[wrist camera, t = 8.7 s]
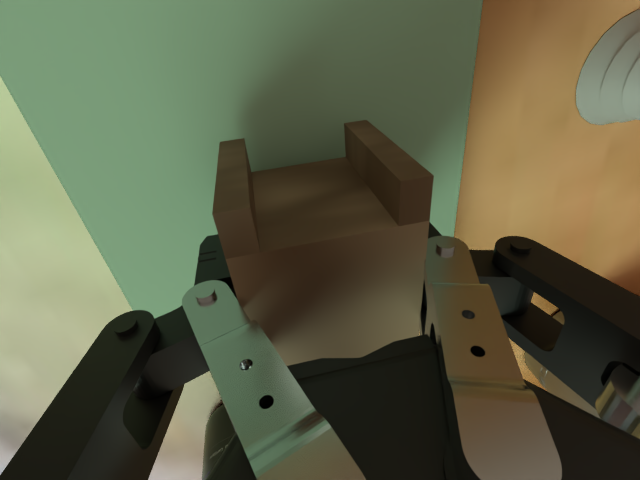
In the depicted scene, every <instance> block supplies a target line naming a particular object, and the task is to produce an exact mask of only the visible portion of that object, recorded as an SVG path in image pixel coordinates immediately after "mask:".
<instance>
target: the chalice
mask: <svg viewBox="0 0 640 480" xmlns="http://www.w3.org/2000/svg"><path fill="white" fill-rule="evenodd" d="M576 105H577V108H578V110H579V112H580V115H581V117H583V118H584V119H585V120H586V121H588V122H589V123H592V124H598V125H604V124H609V123H614V122H627V121H631V120H635V119H637V120H640V9H638V10H637V11H635V12H633V13H631V14H629V15H627V16H626V17H624V18H622V19H620V20H619V21H618V22H617V23H616V24H615V25H614V26H613V27H611V28H610V29H609V30H608V31H607V32H606V33H605V34H604V35H603V36H602V38H601V39H600V40H599V41H598V43H597V44H596V45H595V47H594V48H593V49H592V51H591V52H590V54H589V56H588V58H587V60H586V62H585V64H584V66H583V68H582V70H581V73H580V76H579V80H578V84H577V88H576Z"/></svg>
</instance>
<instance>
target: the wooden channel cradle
mask: <svg viewBox="0 0 640 480" xmlns="http://www.w3.org/2000/svg"><path fill="white" fill-rule="evenodd" d="M344 133H345V153H346V157H341V158H335V159H329V160H323V161H317V162H310V163H304V164H298V165H292V166H286V167H280V168H273V169H267V170H261V171H255V172H251V168H250V163H249V159H248V154H247V149H246V144H245V139H244V138H242V139H235V140H228V141H222V142H220V144H219V154H218V163H217V173H216V182H215V192H214V202H213V211H212V215H213V218H214V222H215V225H216V228H217V232H218V235H219V239H220V242H221V245H222V249H223V252H224V255H225V259H226V262H227V266H228V269H229V272H230V276H231V279H232V282H233V286H234V289H235V293H236V296H237V299H238V302H239V303H240V305H241V306H242V308H243V310H244V311H245V313H246V314H247V316H248V317H249V319H250V321H252V320H256V321H257V322H258V324H259V325H260V327H261V328H262V330H263V331H264V333H265V334H266V336H267V337H268V339H269V340H270V342H271V343H272V345H273V346H274V348H275V349H276V351H277V352H278V354H279V355H280V357H281V358H282V360H283V362H284V363H285V365H286V366H289V365H294V364H298V363H302V362H307V361H311V360H315V359H320V358H360V357H363V356H366V355H368V354H370V353H372V352H374V351H376V350H378V349H380V348H382V347H384V346H386V345H388V344H390V343H392V342H394V341H398V340H403V339H407V338H411V337H416V336H418V335H419V315H420V312H421V304H422V294H423V283H424V274H423V272H424V261H425V260H426V252H427V242H428V232H429V221H430V211H431V200H432V190H433V180H434V175H433V174H431V173H430V172H429V171H428V170H427V169H425V168H424V167H423V166H422V165H421V164H419V163H418V162H417V161H416V160H415V159H413V158H412V157H411V156H410V155H408V154H407V153H406V152H405V151H404V150H402V149H401V148H400V147H399V146H398V145H396V144H395V143H394V142H393V141H392V140H390V139H389V138H388V137H387V136H386V135H384V134H383V133H382V132H381V131H379V130H378V129H377V128H376V127H375V126H373V125H372V124H371V123H370V122H369V121H367V120H362V121H355V122H348V123H344Z"/></svg>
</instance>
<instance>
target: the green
mask: <svg viewBox="0 0 640 480" xmlns="http://www.w3.org/2000/svg"><path fill="white" fill-rule="evenodd" d="M482 4H483V0H0V76H1V78H2V80H3V81H4V83H5V85H6V87H7V88H8V90H9V92H10V94H11V95H12V97H13V99H14V101H15V103H16V104H17V106H18V108H19V110H20V111H21V113H22V115H23V117H24V118H25V120H26V122H27V124H28V126H29V127H30V129H31V131H32V133H33V134H34V136H35V138H36V140H37V141H38V143H39V145H40V147H41V149H42V150H43V152H44V154H45V156H46V157H47V159H48V161H49V163H50V164H51V166H52V168H53V170H54V172H55V173H56V175H57V177H58V179H59V180H60V182H61V184H62V186H63V187H64V189H65V191H66V193H67V195H68V196H69V198H70V200H71V202H72V203H73V205H74V207H75V209H76V210H77V212H78V214H79V216H80V218H81V219H82V221H83V223H84V225H85V226H86V228H87V230H88V232H89V233H90V235H91V237H92V239H93V241H94V242H95V244H96V246H97V248H98V249H99V251H100V253H101V255H102V256H103V258H104V260H105V262H106V264H107V265H108V267H109V269H110V271H111V272H112V274H113V276H114V278H115V279H116V281H117V283H118V285H119V287H120V288H121V290H122V292H123V294H124V295H125V297H126V299H127V301H128V302H129V304H130V306H131V308H132V310H133V311H134V310H145V311H148V312H150V313H151V314H152V315H153V317H154V319H155V318H157V317H159V316H162V315H164V314H166V313H169V312H171V311H173V310H175V309H177V308H179V307H180V306H181V305H182V298H183V296H184V295H185V293H186V292H187V291H188V290H189V289H190V288H192V287H193V286H194V283H195V276H196V269H197V263H198V256H199V248H200V244H201V243H202V242H203V240H204V239H205V238H206V237H207V236H210V235H216V234H218V232H217V228H216V225H215V222H214V218H213V215H212V211H213V202H214V192H215V182H216V173H217V163H218V154H219V144H220V142H222V141H228V140H235V139H242V138H244V139H245V144H246V149H247V154H248V159H249V163H250V168H251V172H255V171H261V170H267V169H273V168H280V167H286V166H292V165H298V164H304V163H310V162H317V161H323V160H329V159H335V158H341V157H346V153H345V133H344V123H348V122H355V121H362V120H367V121H369V122H370V123H371V124H372V125H373V126H375V127H376V128H377V129H378V130H379V131H381V132H382V133H383V134H384V135H386V136H387V137H388V138H389V139H390V140H392V141H393V142H394V143H395V144H396V145H398V146H399V147H400V148H401V149H402V150H404V151H405V152H406V153H407V154H408V155H410V156H411V157H412V158H413V159H415V160H416V161H417V162H418V163H419V164H421V165H422V166H423V167H424V168H425V169H427V170H428V171H429V172H430V173H431V174H433V175H434V180H433V190H432V200H431V211H430V221H429V222H430V223H431V224H432V225H433V226H434V227H435V228H436V229H437V230H438V231H439V233H440V234H441V235H442V236H450V237H454V229H455V221H456V213H457V205H458V197H459V189H460V181H461V173H462V165H463V157H464V149H465V141H466V133H467V125H468V117H469V109H470V101H471V92H472V84H473V76H474V68H475V60H476V52H477V44H478V36H479V28H480V20H481V12H482Z"/></svg>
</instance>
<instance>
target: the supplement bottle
mask: <svg viewBox="0 0 640 480" xmlns="http://www.w3.org/2000/svg"><path fill="white" fill-rule="evenodd" d="M234 434H235V429H234V427H233V424H232V422H231V420H230V417H229V415H228V413H227V410H226V408H225V406H224V403H223V404H222V405H221V406H219V407H218V408H217V409H216V410H215V411H214V412H213V413H212V415H211V416H210V418H209V420H208V422H207V425H206V431H205V443H204V456H203V471H202V480H206V479H207V477H208V475H209V474H210V472H211V471H212V469H213V467H214V466H215V464H216V463H217V461H218V459H219V458H220V456H221V455H222V453H223V451H224V450H225V448H226V447H227V445H228V443H229V442H230V440H231V439H232V437H233V435H234Z"/></svg>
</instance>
